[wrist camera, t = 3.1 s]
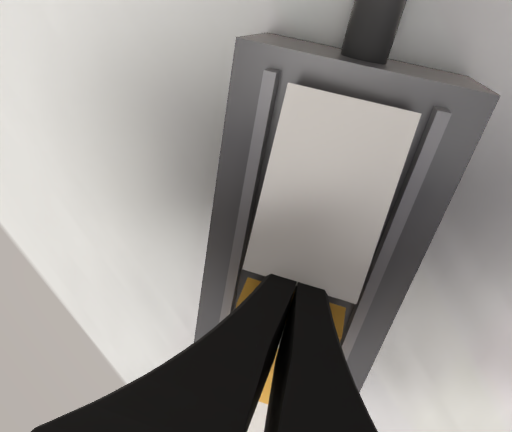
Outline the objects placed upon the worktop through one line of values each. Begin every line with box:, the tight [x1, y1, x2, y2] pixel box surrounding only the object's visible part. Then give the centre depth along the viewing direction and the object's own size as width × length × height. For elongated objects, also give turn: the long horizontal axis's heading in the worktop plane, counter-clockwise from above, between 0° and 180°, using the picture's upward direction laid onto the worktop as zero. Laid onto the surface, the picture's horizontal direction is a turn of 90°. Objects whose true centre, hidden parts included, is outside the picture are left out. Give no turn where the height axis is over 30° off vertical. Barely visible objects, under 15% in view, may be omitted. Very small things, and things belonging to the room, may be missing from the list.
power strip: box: [194, 0, 500, 392], centre depth 13 cm, size 21×6×4 cm, turn 170°
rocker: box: [242, 83, 421, 304], centre depth 9 cm, size 4×3×1 cm, turn 170°
